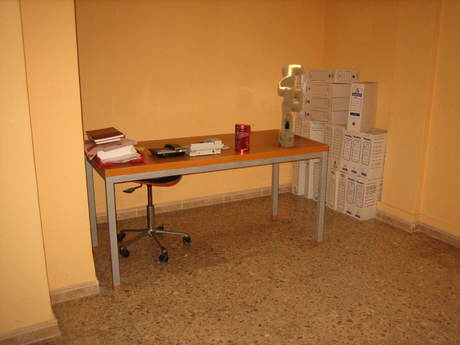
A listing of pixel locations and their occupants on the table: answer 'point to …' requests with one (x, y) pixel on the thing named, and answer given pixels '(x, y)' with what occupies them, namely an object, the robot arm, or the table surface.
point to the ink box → (286, 138)
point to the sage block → (284, 126)
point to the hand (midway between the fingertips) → (286, 128)
